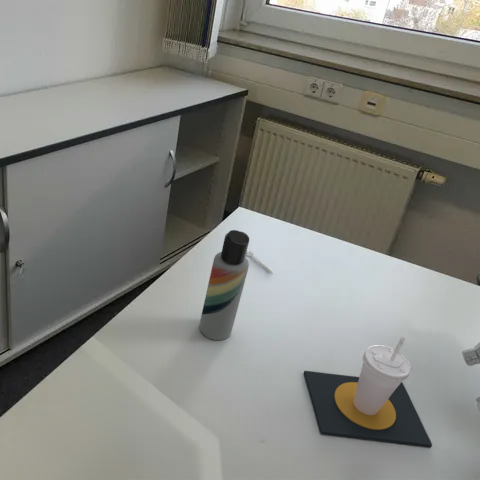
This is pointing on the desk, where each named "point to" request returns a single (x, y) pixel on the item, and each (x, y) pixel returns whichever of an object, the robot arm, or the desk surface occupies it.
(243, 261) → the lotion bottle
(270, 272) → the white spoon
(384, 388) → the smoothie
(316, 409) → the mat
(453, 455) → the desk surface
